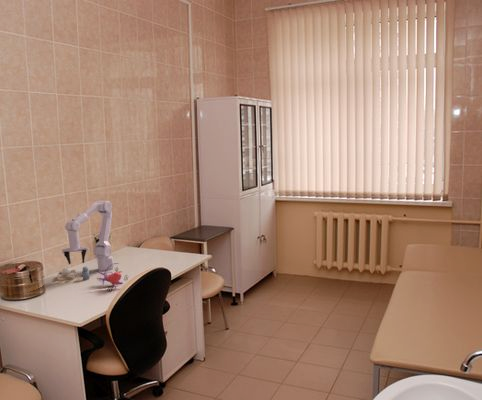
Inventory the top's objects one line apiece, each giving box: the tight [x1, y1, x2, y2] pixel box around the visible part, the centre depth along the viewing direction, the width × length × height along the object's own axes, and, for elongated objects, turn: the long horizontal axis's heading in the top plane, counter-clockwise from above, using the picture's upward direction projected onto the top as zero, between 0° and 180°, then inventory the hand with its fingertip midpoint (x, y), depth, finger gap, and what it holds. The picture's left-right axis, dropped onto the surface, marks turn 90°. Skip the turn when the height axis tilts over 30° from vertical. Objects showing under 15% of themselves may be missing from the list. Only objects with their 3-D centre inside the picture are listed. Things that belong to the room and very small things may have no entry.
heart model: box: [96, 262, 129, 292], centre depth 267 cm, size 15×9×18 cm
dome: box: [61, 267, 72, 274], centre depth 286 cm, size 6×6×6 cm
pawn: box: [81, 266, 91, 281], centre depth 281 cm, size 4×4×8 cm
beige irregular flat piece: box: [54, 269, 92, 285], centre depth 284 cm, size 22×17×4 cm
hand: (76, 263), depth 282 cm, fingers open, 7 cm apart
